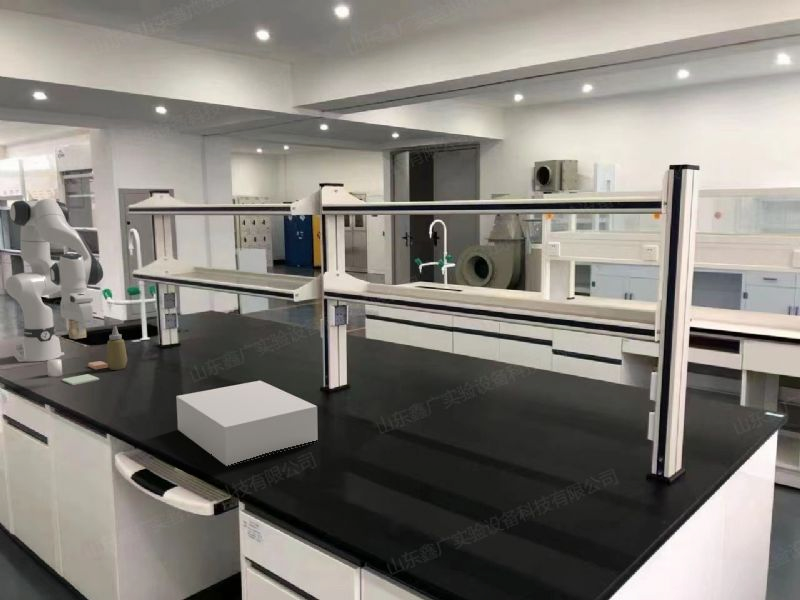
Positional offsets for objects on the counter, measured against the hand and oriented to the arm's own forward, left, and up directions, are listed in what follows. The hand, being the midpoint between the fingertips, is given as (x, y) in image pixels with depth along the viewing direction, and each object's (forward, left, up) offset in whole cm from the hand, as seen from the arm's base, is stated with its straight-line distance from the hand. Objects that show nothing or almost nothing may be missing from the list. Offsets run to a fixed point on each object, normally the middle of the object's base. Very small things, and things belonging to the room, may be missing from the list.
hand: (77, 331), depth 238 cm
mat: (0, 0, -19) cm, 19 cm away
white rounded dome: (-16, -3, -19) cm, 25 cm away
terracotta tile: (-16, +14, -20) cm, 29 cm away
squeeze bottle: (-7, +18, -20) cm, 27 cm away
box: (+99, +5, -20) cm, 101 cm away
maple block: (0, 0, -2) cm, 2 cm away
